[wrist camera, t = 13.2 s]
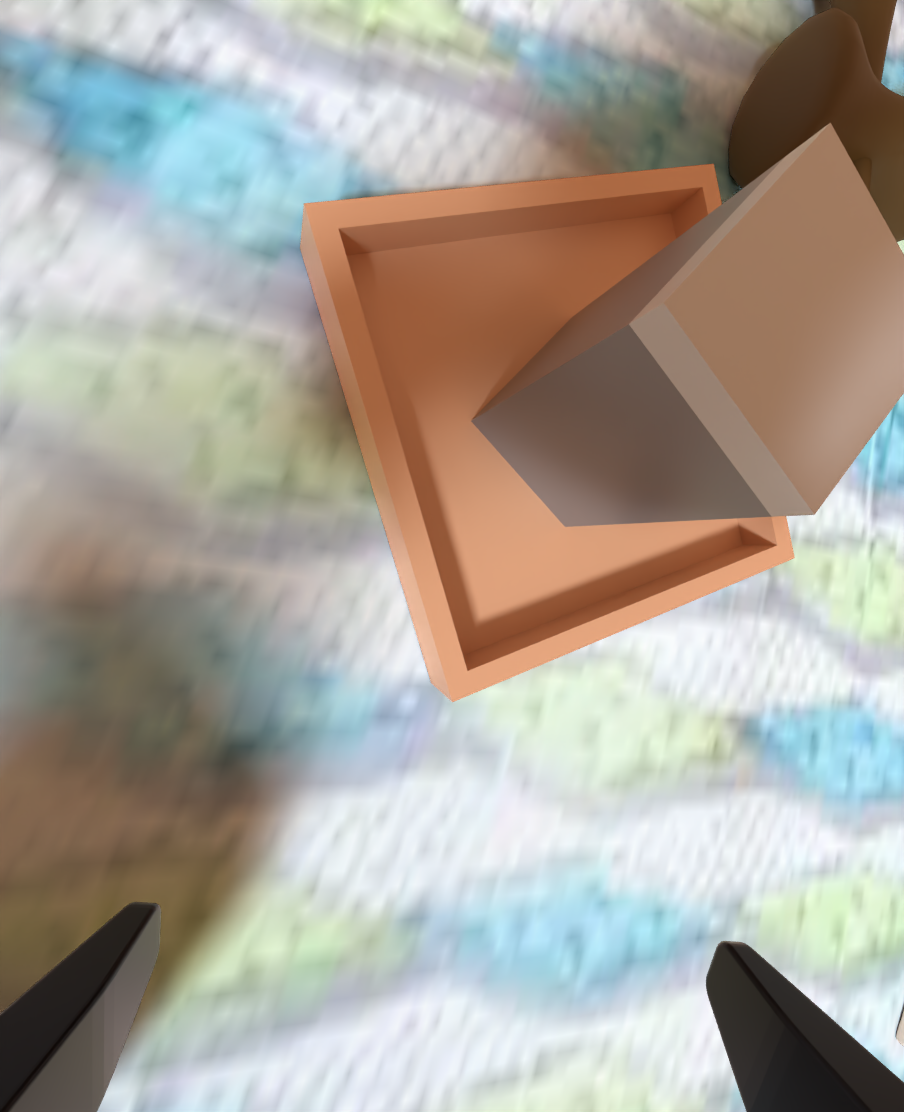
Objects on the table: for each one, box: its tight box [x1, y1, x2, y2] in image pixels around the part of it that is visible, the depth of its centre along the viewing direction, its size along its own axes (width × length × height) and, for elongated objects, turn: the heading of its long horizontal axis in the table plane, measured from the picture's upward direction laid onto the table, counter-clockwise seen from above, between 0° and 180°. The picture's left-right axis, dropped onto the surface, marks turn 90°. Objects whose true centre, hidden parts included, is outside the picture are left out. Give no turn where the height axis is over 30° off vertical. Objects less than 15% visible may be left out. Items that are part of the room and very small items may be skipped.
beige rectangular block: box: [471, 123, 904, 527], centre depth 16 cm, size 6×6×10 cm
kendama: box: [729, 0, 904, 242], centre depth 23 cm, size 6×10×20 cm
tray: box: [300, 164, 794, 702], centre depth 20 cm, size 16×16×2 cm
